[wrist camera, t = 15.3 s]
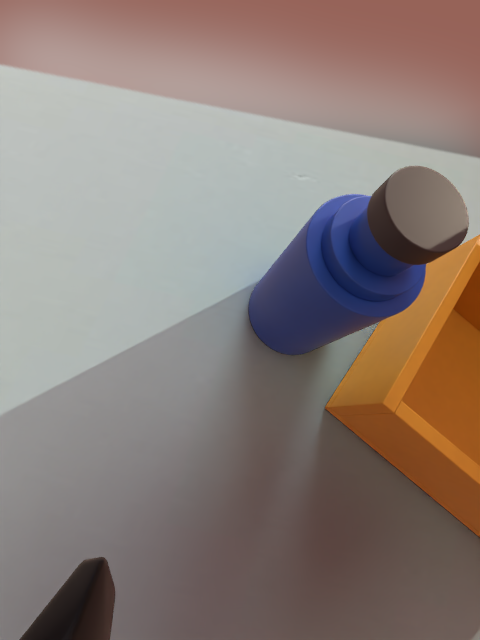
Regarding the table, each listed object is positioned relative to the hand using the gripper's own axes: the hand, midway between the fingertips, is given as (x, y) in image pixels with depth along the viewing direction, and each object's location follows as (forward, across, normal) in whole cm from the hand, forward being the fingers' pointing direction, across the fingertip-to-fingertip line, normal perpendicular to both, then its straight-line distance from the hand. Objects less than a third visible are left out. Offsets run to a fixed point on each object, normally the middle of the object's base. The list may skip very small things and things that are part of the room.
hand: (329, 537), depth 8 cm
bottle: (+16, -2, 0) cm, 16 cm away
